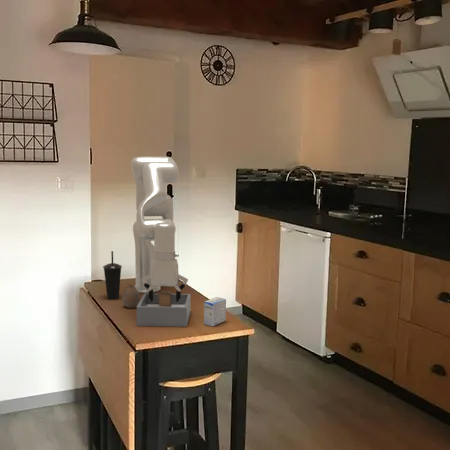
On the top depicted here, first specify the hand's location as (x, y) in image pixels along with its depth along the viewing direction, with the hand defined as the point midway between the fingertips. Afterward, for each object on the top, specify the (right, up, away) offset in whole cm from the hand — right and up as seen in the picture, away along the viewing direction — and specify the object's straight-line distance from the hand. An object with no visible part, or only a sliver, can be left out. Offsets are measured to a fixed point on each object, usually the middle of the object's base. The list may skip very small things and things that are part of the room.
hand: (164, 300), depth 211 cm
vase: (-15, -5, +15) cm, 22 cm away
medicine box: (+19, -8, -3) cm, 21 cm away
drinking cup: (-25, -3, +27) cm, 37 cm away
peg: (0, -7, +1) cm, 7 cm away
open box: (0, -7, +1) cm, 7 cm away
